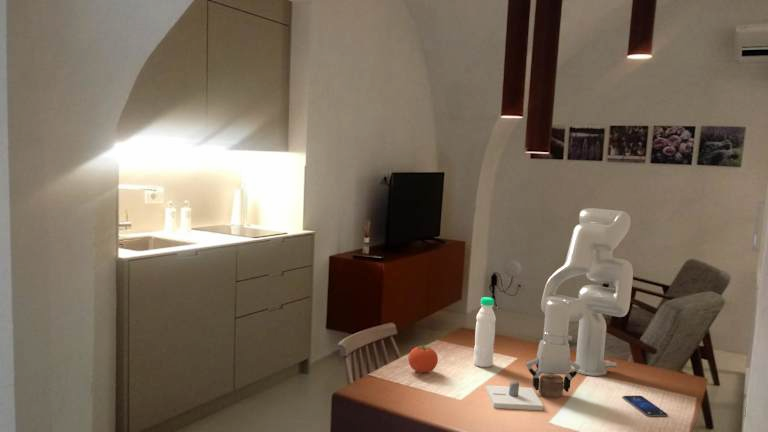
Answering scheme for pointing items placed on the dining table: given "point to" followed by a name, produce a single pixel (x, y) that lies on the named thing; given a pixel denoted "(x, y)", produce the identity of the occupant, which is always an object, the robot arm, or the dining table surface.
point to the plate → (513, 397)
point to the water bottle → (484, 334)
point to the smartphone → (645, 406)
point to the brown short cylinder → (551, 386)
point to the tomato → (423, 359)
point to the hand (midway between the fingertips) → (550, 389)
